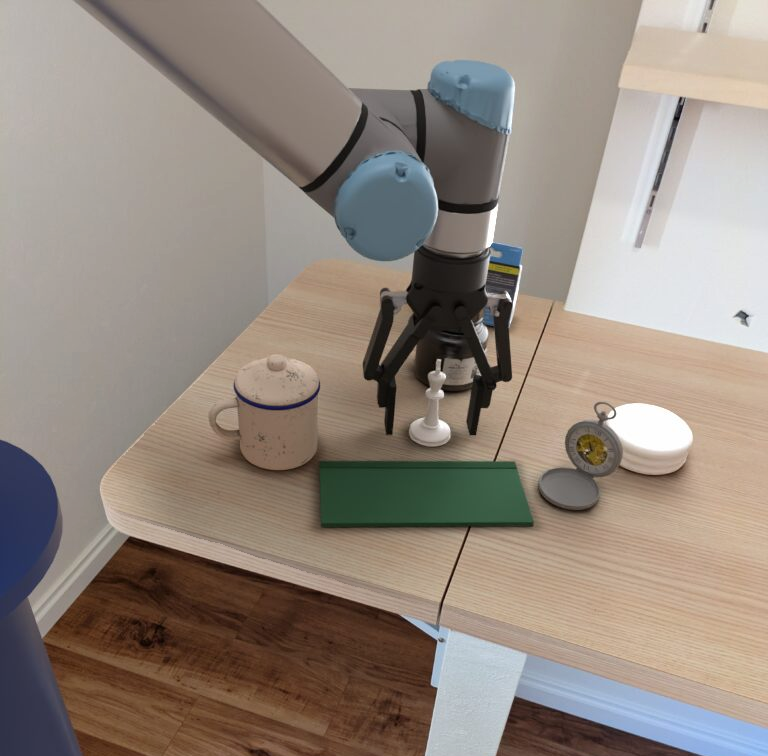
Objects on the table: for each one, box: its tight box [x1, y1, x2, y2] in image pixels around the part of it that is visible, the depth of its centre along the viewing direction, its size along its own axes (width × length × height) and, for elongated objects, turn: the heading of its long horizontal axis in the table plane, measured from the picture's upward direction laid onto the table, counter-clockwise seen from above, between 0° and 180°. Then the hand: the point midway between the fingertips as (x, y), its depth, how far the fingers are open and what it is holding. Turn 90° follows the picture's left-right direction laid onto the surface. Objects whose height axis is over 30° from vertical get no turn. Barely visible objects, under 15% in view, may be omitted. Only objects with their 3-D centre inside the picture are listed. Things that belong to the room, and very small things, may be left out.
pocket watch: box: [538, 401, 623, 511], centre depth 85 cm, size 8×8×10 cm
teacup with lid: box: [208, 353, 321, 471], centre depth 86 cm, size 12×9×12 cm
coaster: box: [603, 403, 694, 476], centre depth 93 cm, size 10×10×4 cm
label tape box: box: [482, 241, 524, 328], centre depth 111 cm, size 9×4×12 cm, turn 72°
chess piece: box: [408, 359, 451, 448], centre depth 90 cm, size 5×5×10 cm
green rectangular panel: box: [318, 460, 535, 528], centre depth 85 cm, size 22×10×1 cm, turn 94°
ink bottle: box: [413, 288, 490, 392], centre depth 100 cm, size 10×9×12 cm
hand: (429, 428), depth 93 cm, fingers open, 9 cm apart
